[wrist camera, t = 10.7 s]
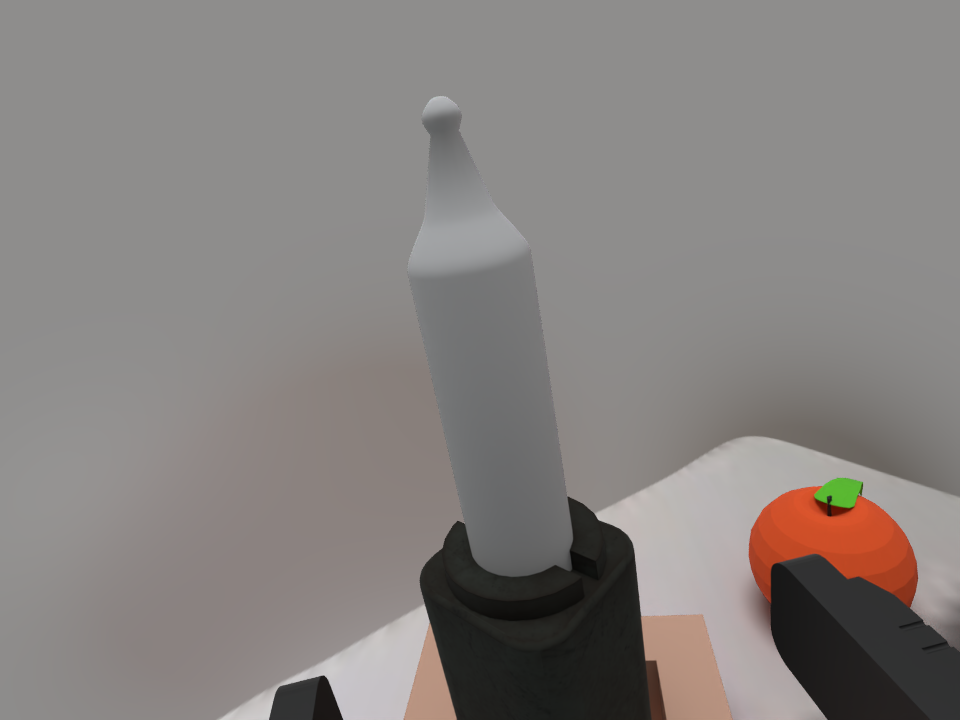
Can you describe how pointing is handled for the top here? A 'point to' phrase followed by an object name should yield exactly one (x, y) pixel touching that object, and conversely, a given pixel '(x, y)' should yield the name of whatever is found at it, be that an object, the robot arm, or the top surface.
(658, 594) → the top surface
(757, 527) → the clementine
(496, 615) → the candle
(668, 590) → the top surface
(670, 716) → the holder block
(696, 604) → the top surface
